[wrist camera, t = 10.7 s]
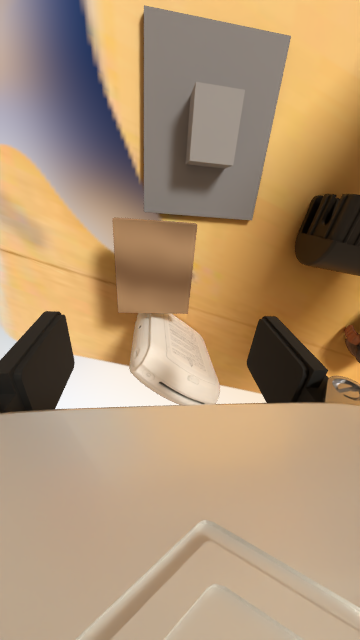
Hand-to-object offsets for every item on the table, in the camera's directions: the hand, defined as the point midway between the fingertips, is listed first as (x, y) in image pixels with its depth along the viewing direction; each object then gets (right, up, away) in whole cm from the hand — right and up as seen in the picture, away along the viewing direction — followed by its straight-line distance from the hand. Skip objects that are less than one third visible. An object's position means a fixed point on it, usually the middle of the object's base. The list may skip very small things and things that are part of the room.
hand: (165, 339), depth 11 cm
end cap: (+19, +12, +17) cm, 28 cm away
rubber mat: (+3, +19, +10) cm, 22 cm away
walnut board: (-2, +6, +12) cm, 14 cm away
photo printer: (-1, 0, +21) cm, 21 cm away
